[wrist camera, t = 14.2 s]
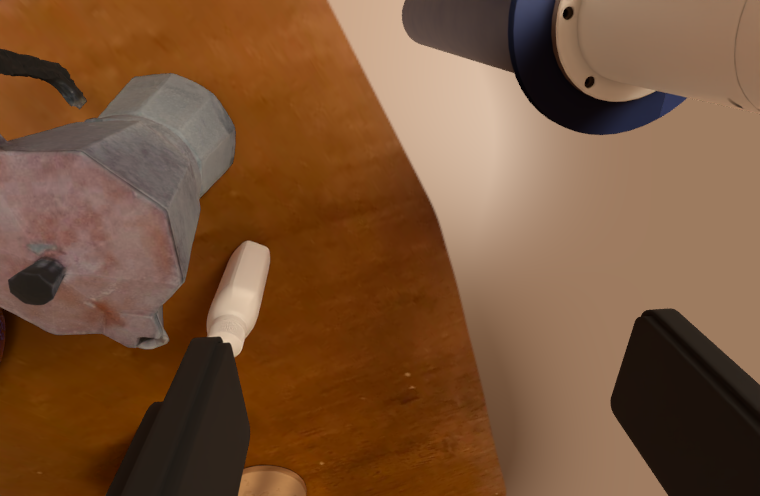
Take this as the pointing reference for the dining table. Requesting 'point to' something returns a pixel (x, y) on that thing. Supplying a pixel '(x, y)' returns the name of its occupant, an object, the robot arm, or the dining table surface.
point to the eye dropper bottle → (239, 295)
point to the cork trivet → (271, 482)
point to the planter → (2, 333)
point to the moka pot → (107, 205)
